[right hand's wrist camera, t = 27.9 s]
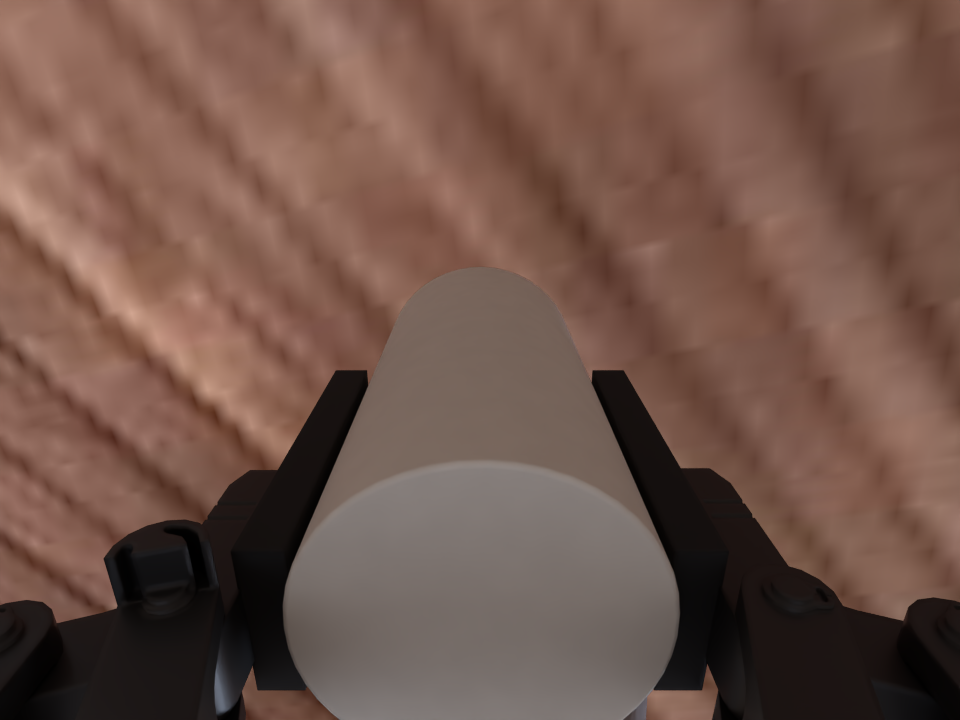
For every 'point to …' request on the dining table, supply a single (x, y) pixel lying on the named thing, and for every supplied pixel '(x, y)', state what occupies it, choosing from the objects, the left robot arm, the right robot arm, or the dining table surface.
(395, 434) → the can
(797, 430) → the dining table surface
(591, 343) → the dining table surface
